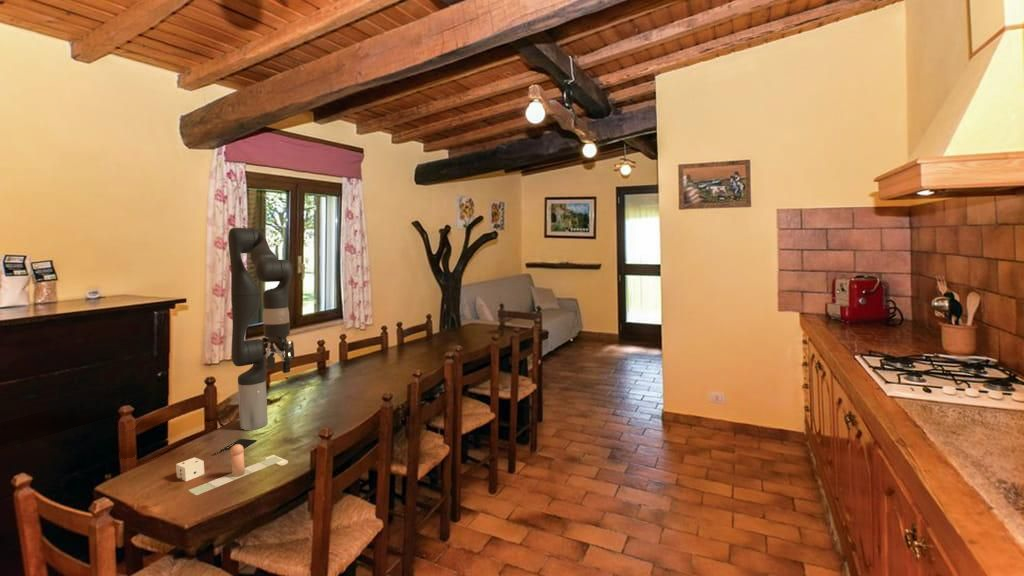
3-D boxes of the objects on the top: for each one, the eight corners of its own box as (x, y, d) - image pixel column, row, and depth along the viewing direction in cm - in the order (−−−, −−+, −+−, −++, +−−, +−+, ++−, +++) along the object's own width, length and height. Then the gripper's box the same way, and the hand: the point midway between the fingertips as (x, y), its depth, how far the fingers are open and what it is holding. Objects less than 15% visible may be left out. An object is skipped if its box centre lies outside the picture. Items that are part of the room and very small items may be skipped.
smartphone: (206, 458, 149) (239, 438, 163) (206, 460, 149) (239, 440, 164) (226, 459, 148) (258, 440, 162) (227, 461, 148) (258, 441, 163)
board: (182, 492, 128) (182, 489, 128) (273, 457, 150) (273, 454, 150) (196, 501, 124) (196, 498, 124) (287, 463, 146) (287, 460, 146)
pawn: (229, 474, 136) (227, 445, 135) (241, 470, 139) (239, 441, 138) (235, 478, 134) (233, 448, 133) (247, 473, 137) (245, 444, 136)
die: (176, 480, 135) (175, 463, 134) (195, 473, 139) (194, 456, 139) (185, 485, 132) (184, 467, 132) (205, 477, 137) (203, 460, 136)
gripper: (300, 321, 148) (302, 371, 149) (275, 318, 156) (277, 365, 157) (278, 325, 142) (280, 376, 143) (252, 321, 149) (255, 370, 151)
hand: (278, 370), depth 150 cm, fingers open, 8 cm apart
